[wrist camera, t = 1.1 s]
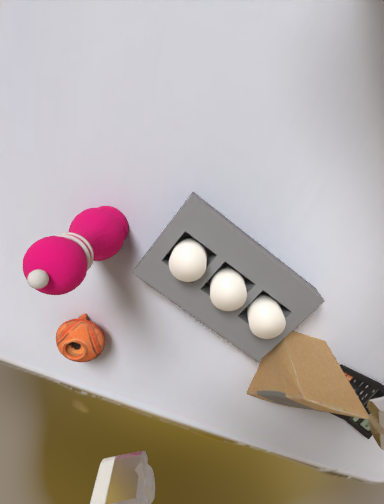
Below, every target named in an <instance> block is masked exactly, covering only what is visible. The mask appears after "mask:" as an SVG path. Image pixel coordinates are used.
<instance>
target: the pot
mask: <svg viewBox="0 0 384 504" xmlns="http://www.w3.org/2000/svg"><path fill="white" fill-rule="evenodd" d="M56 343H57V347H58V349H59V351H60V352H61V354H62V355H63V356H65V357H66V358H68V359H69V360H72V361H75V362H87V361H90V360H93V359H95V358H96V357H98V356H99V355H100V354H101V352H102V350H103V348H104V345H105V338H104V335H103V333H102V331H101V329H100V328H99V327H98V326H97V325H96V324H95V323H93V322H91V321H89V320H87V314H83V315H81V316H80V317H79V318H78V319H72V320H69V321H66V322H65V323H63V324H62V325H61V326H60V327H59V329H58V330H57V333H56Z"/></svg>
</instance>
